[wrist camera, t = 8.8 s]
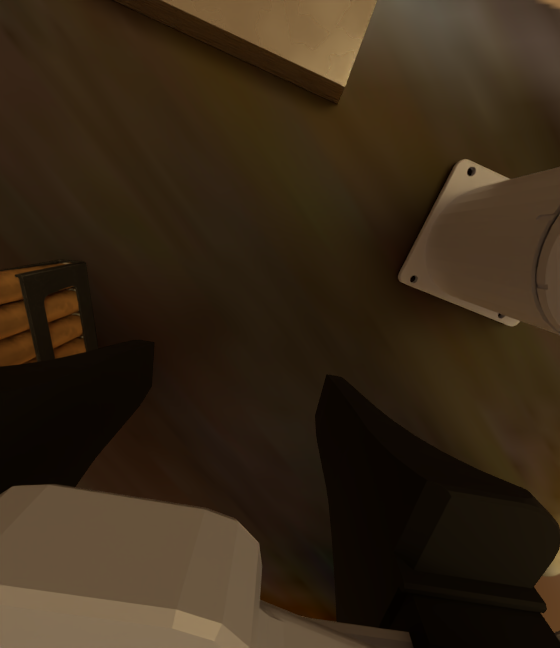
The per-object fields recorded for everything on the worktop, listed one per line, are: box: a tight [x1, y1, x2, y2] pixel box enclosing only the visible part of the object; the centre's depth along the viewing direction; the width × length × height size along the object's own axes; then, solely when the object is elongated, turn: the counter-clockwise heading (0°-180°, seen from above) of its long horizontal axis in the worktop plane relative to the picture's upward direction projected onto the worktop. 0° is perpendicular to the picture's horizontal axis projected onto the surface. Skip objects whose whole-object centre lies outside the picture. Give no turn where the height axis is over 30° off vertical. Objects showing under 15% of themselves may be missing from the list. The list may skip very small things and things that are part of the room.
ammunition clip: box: [0, 260, 98, 367], centre depth 15 cm, size 11×2×12 cm, turn 176°
